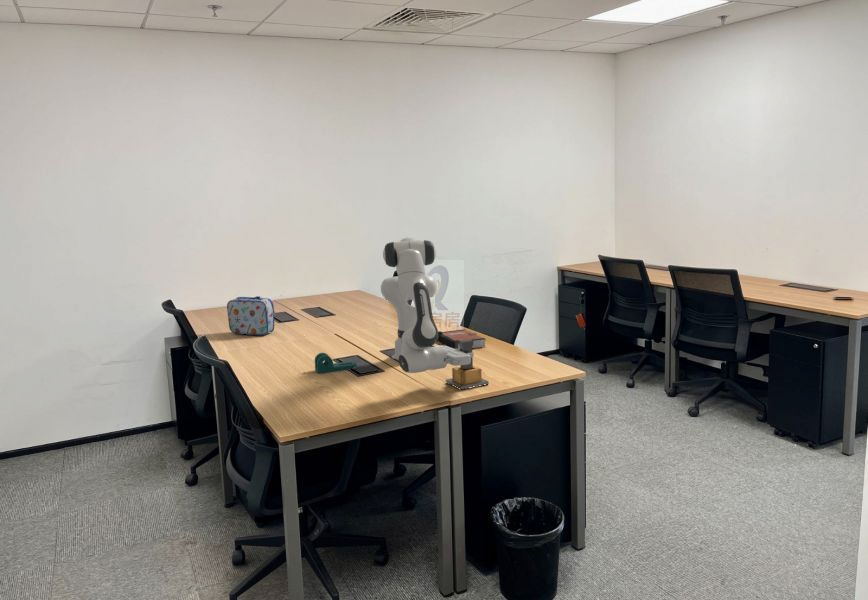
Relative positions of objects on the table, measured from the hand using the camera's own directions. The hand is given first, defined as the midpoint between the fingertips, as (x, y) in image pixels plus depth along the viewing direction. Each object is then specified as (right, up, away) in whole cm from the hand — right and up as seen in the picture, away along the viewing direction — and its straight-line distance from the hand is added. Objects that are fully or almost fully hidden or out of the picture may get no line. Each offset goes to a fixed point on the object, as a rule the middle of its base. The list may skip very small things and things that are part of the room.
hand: (468, 352), depth 280 cm
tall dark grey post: (0, -13, +2) cm, 13 cm away
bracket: (-57, -10, +30) cm, 66 cm away
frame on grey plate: (0, -13, +2) cm, 13 cm away
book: (0, -1, +71) cm, 71 cm away
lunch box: (-115, +2, +109) cm, 159 cm away
